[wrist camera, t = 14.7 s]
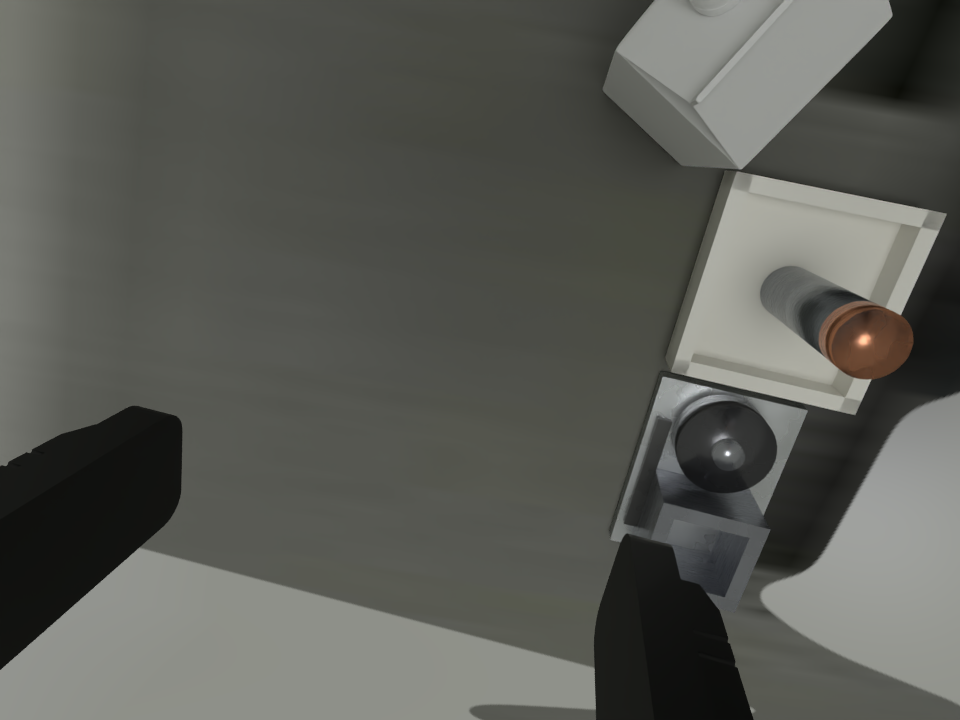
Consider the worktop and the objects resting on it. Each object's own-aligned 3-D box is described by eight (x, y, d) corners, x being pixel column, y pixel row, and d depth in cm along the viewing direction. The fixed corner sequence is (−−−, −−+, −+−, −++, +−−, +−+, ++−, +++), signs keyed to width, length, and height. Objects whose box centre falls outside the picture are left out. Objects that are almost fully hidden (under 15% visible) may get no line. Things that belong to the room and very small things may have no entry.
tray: (725, 170, 38) (736, 171, 35) (918, 209, 37) (946, 213, 34) (664, 358, 42) (670, 372, 40) (836, 397, 41) (855, 414, 38)
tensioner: (660, 370, 43) (673, 402, 37) (801, 403, 42) (836, 441, 36) (609, 530, 47) (613, 580, 42) (735, 563, 47) (756, 618, 41)
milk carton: (770, 72, 36) (959, -14, 18) (681, 167, 38) (770, 172, 20) (685, -11, 35) (794, -187, 17) (600, 90, 38) (620, 27, 20)
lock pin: (770, 260, 38) (848, 301, 27) (824, 272, 38) (926, 318, 27) (752, 310, 40) (819, 370, 28) (804, 322, 39) (893, 386, 28)
